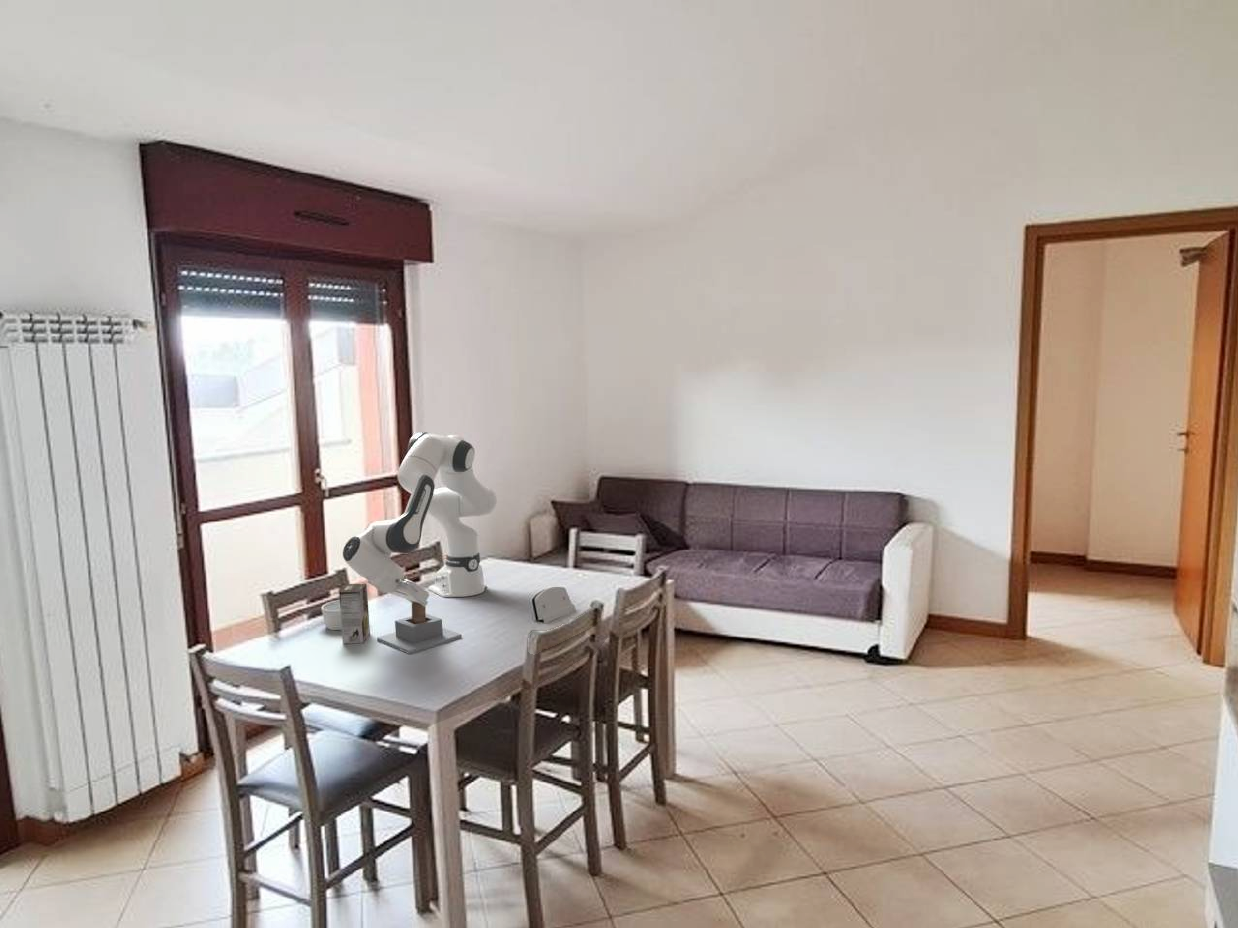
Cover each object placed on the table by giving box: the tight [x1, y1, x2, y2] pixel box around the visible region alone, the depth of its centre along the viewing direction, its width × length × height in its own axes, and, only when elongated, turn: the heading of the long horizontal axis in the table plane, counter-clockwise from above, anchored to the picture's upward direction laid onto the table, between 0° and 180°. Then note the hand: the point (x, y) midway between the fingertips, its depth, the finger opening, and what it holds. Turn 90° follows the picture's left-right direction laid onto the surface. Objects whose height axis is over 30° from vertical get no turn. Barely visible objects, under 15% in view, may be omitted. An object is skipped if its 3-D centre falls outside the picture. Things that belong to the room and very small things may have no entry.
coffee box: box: [338, 583, 371, 645], centre depth 240 cm, size 9×6×16 cm
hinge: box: [529, 586, 577, 624], centre depth 259 cm, size 17×5×10 cm, turn 146°
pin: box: [411, 601, 427, 624], centre depth 238 cm, size 4×4×12 cm
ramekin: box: [321, 599, 342, 631], centre depth 254 cm, size 13×13×7 cm
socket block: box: [376, 613, 463, 654], centre depth 239 cm, size 18×18×6 cm
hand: (419, 602), depth 238 cm, fingers open, 5 cm apart
